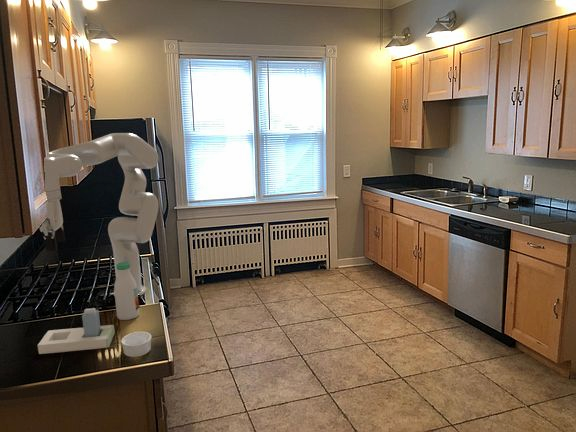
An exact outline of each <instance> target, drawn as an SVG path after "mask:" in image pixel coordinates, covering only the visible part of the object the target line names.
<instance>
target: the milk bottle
mask: <svg viewBox="0 0 576 432" xmlns="http://www.w3.org/2000/svg"><path fill="white" fill-rule="evenodd" d="M116 268H117V271H118V274H117V278H116V277H115V280H114V291H115V296H114V299H115V300H114V301H115V310H116V317H117V319H118V320H121V321H130V320H134V319H136V318H138V317H139V315H140V304H139V296H138V293H137V286H136V282H135V280H134V278H133V276H132V275H131V272H130V263H129V262H121V263H118V264H117V265H116ZM114 291H113V292H114Z"/></svg>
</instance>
